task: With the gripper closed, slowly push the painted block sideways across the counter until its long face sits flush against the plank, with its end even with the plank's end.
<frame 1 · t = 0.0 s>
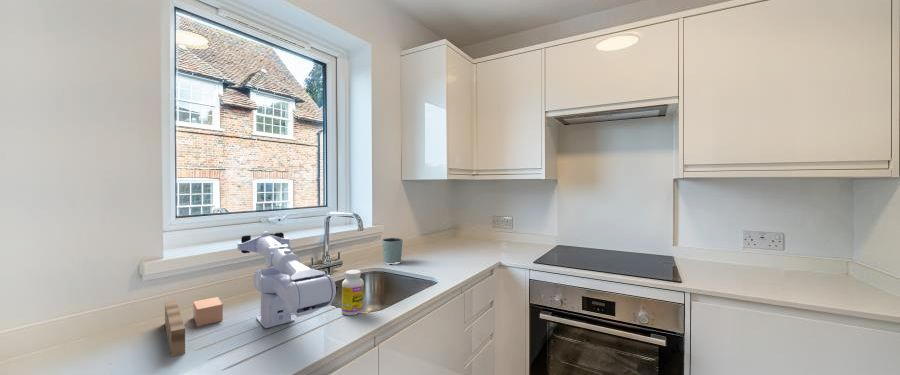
hand: (257, 237, 113), 22 cm above the table, tool horizontal, fingers open, 7 cm apart
plank: (174, 337, 87), on the table
supplement bottle: (352, 312, 106), on the table
green plant pot: (392, 263, 168), on the table
block: (207, 319, 99), on the table
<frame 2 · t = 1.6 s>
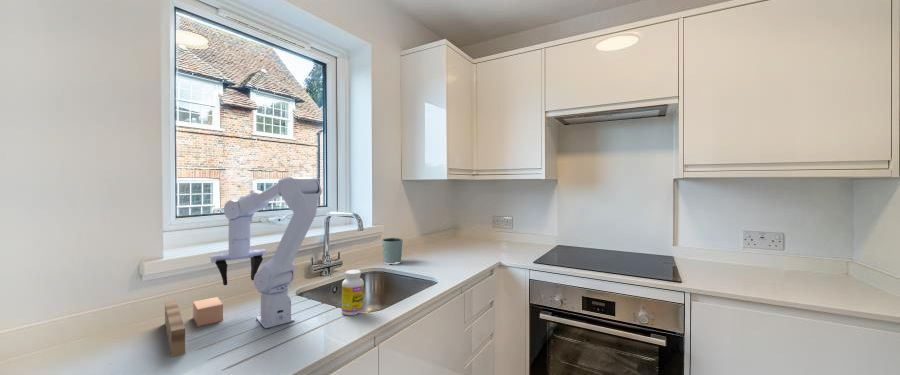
hand: (239, 282, 104), 9 cm above the table, tool pointing down, fingers open, 7 cm apart
nothing on the table moved.
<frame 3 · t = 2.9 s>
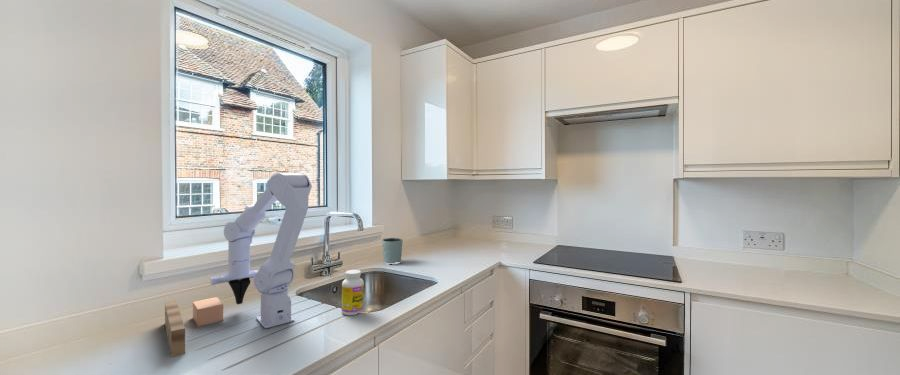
hand: (239, 303, 104), 3 cm above the table, tool pointing down, fingers closed
nothing on the table moved.
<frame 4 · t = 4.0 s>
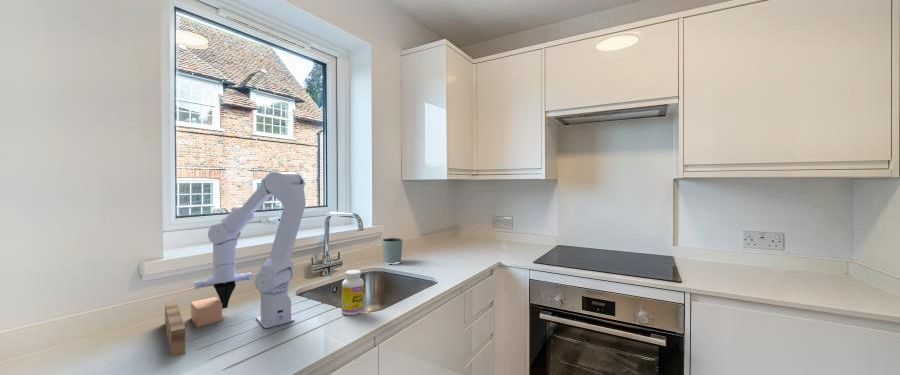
hand: (224, 307, 101), 2 cm above the table, tool pointing down, fingers closed
block: (206, 319, 98), on the table, touching gripper
everything else where it was.
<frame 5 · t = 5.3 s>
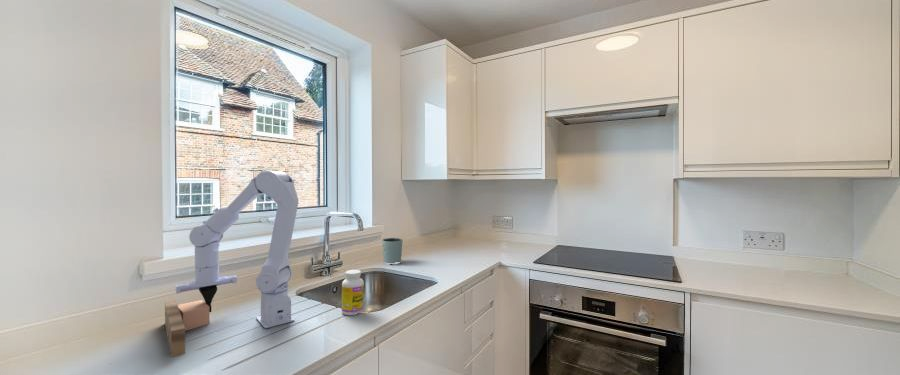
hand: (207, 311, 98), 2 cm above the table, tool pointing down, fingers closed, pressing on block
block: (192, 323, 96), on the table, touching gripper, plank
everything else where it was.
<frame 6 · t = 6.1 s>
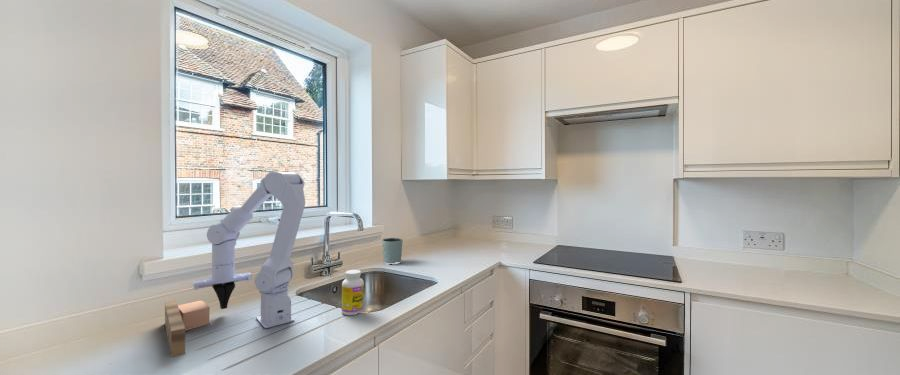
hand: (223, 307, 101), 2 cm above the table, tool pointing down, fingers closed
block: (192, 323, 96), on the table
everything else where it was.
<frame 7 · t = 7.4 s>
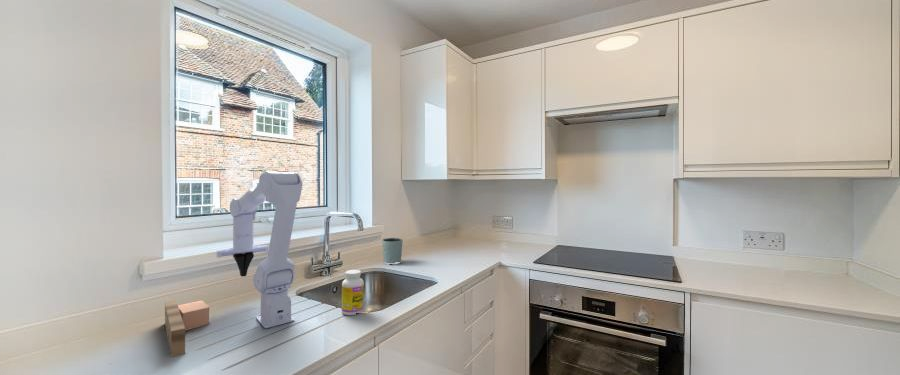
hand: (243, 275, 111), 9 cm above the table, tool pointing down, fingers closed
nothing on the table moved.
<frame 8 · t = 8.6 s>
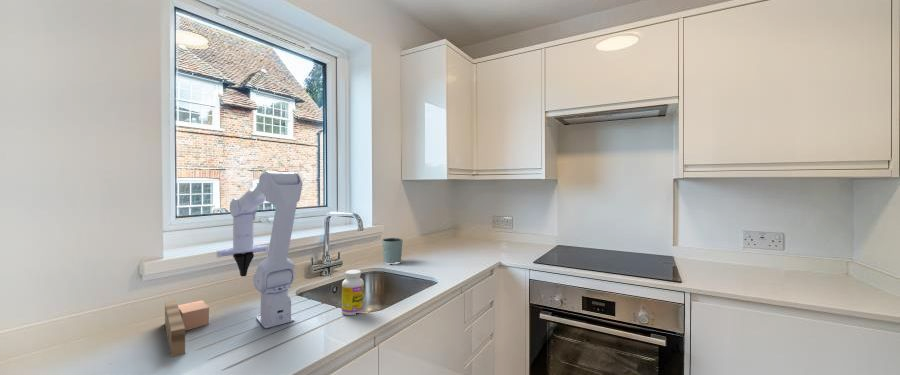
hand: (243, 275, 111), 9 cm above the table, tool pointing down, fingers closed
nothing on the table moved.
at the end: block 0.6 cm from the target spot on the table beside the plank, on the table; block tilted 0° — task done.
